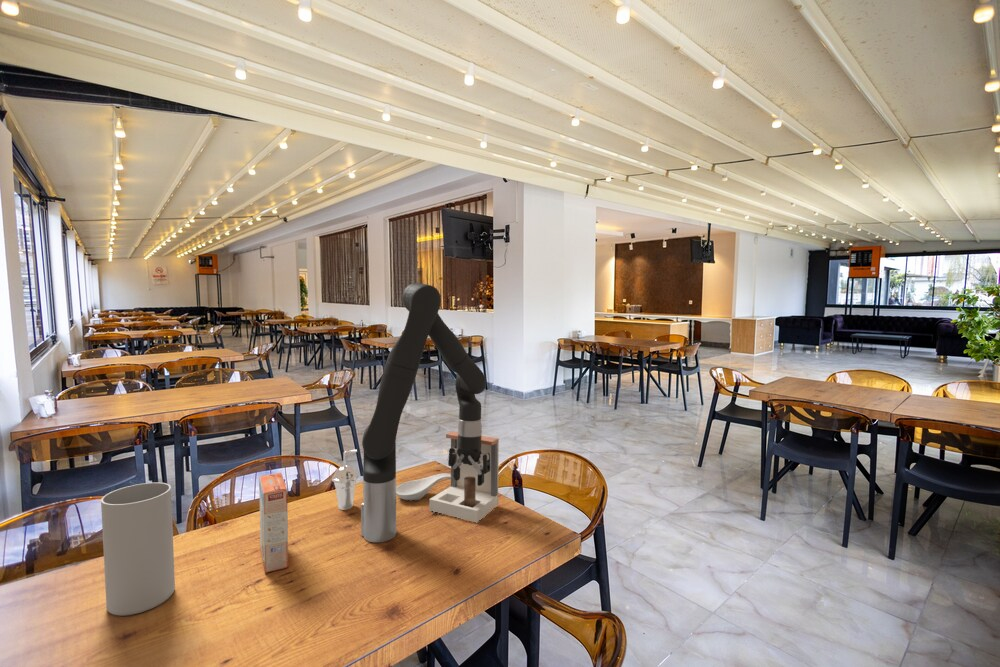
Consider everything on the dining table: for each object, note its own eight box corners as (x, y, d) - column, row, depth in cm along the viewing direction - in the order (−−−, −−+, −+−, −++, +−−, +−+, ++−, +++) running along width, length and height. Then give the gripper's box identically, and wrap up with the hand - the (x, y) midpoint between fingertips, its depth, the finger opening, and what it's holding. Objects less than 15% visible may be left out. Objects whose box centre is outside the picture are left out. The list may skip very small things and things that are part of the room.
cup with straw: (352, 499, 164) (351, 442, 163) (364, 507, 158) (363, 448, 156) (327, 506, 159) (326, 447, 157) (339, 515, 152) (338, 454, 151)
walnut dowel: (462, 515, 152) (462, 479, 152) (468, 511, 156) (468, 475, 155) (471, 518, 151) (471, 481, 150) (477, 513, 154) (477, 477, 153)
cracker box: (290, 567, 122) (288, 488, 121) (264, 574, 119) (261, 493, 118) (283, 543, 134) (282, 471, 133) (259, 549, 131) (257, 475, 130)
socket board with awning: (429, 511, 156) (429, 441, 154) (453, 495, 168) (453, 431, 166) (476, 523, 147) (477, 449, 146) (498, 506, 160) (498, 438, 158)
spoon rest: (396, 506, 159) (396, 486, 159) (393, 493, 170) (393, 473, 170) (465, 498, 167) (465, 478, 166) (457, 485, 178) (458, 467, 177)
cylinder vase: (137, 582, 115) (132, 482, 114) (187, 584, 115) (183, 483, 113) (91, 616, 103) (85, 504, 101) (147, 618, 102) (142, 505, 101)
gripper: (444, 432, 152) (443, 481, 153) (483, 439, 145) (482, 490, 146) (457, 426, 158) (456, 474, 159) (494, 433, 152) (493, 483, 153)
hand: (468, 482), depth 153 cm, fingers open, 8 cm apart
